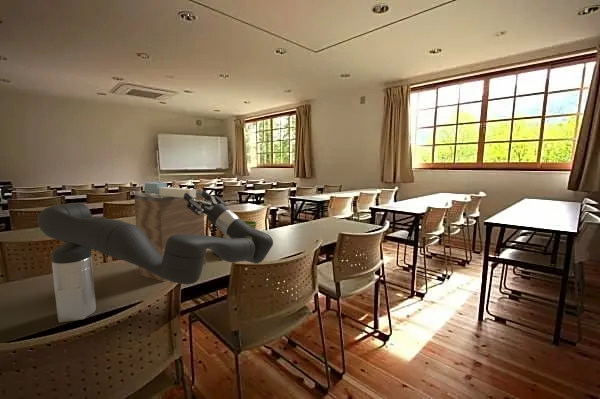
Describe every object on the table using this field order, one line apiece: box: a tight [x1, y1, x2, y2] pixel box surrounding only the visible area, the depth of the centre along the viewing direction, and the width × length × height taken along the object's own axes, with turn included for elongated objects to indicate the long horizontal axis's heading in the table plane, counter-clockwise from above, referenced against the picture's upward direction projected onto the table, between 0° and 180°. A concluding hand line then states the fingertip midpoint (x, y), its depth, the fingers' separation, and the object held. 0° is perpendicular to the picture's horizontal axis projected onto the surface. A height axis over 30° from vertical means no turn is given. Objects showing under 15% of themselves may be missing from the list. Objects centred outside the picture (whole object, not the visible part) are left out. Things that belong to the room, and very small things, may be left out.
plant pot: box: [243, 220, 258, 240], centre depth 166 cm, size 12×12×11 cm
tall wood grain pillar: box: [134, 189, 206, 282], centre depth 122 cm, size 14×22×33 cm, turn 155°
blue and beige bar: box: [144, 182, 197, 198], centre depth 113 cm, size 23×4×4 cm, turn 64°
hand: (193, 193), depth 108 cm, fingers open, 8 cm apart
